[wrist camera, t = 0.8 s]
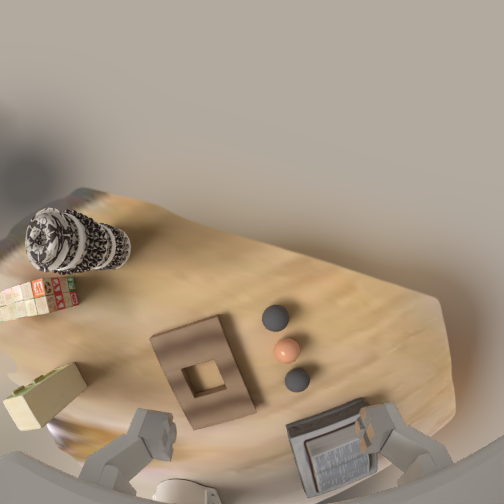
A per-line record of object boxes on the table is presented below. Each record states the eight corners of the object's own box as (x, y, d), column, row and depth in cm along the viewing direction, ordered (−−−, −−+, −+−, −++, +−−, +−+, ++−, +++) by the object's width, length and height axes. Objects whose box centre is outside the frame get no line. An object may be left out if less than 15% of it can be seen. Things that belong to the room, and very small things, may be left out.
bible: (378, 391, 56) (399, 407, 46) (366, 467, 55) (380, 486, 45) (284, 411, 53) (294, 435, 44) (285, 487, 53) (293, 511, 43)
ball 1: (289, 322, 54) (295, 328, 49) (265, 331, 53) (269, 338, 48) (281, 299, 54) (286, 303, 49) (257, 308, 53) (260, 313, 48)
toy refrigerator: (73, 358, 49) (20, 391, 28) (88, 386, 49) (42, 429, 28) (51, 366, 48) (-1, 397, 28) (66, 393, 48) (20, 432, 28)
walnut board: (255, 407, 53) (256, 412, 50) (194, 424, 51) (193, 430, 49) (217, 314, 53) (217, 316, 50) (152, 335, 51) (149, 338, 49)
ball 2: (308, 380, 54) (315, 390, 49) (286, 389, 53) (291, 400, 48) (302, 361, 54) (309, 369, 49) (279, 370, 53) (284, 379, 48)
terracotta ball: (299, 353, 54) (306, 361, 49) (276, 362, 53) (281, 371, 48) (292, 331, 54) (298, 338, 49) (268, 340, 53) (272, 348, 48)
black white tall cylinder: (142, 246, 52) (80, 233, 27) (114, 280, 51) (41, 292, 26) (112, 216, 51) (42, 186, 27) (86, 250, 51) (7, 242, 26)
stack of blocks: (18, 316, 48) (-14, 324, 36) (12, 291, 48) (-20, 295, 36) (80, 304, 50) (49, 313, 38) (73, 275, 50) (41, 278, 38)
